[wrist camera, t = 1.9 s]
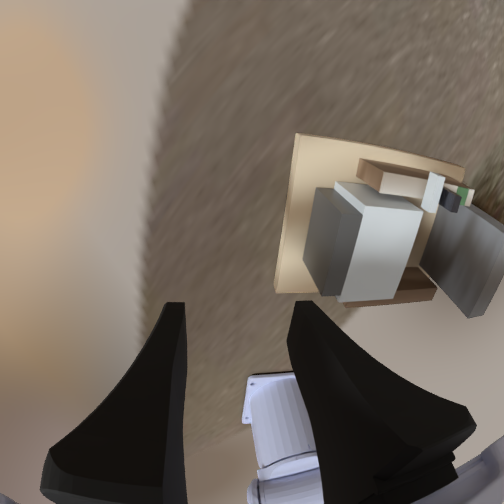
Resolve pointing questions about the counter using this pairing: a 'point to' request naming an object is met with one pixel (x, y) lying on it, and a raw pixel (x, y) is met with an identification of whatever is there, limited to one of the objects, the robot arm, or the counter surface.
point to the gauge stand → (429, 232)
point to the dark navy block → (450, 200)
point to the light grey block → (363, 239)
